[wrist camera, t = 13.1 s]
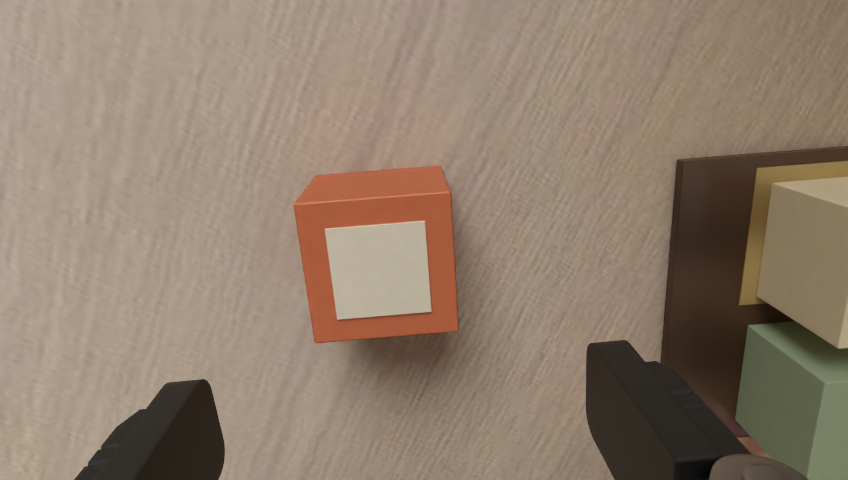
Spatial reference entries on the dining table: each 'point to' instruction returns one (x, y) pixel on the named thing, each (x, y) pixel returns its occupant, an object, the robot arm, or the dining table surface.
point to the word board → (725, 266)
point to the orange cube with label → (378, 254)
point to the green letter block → (796, 399)
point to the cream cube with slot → (808, 256)
